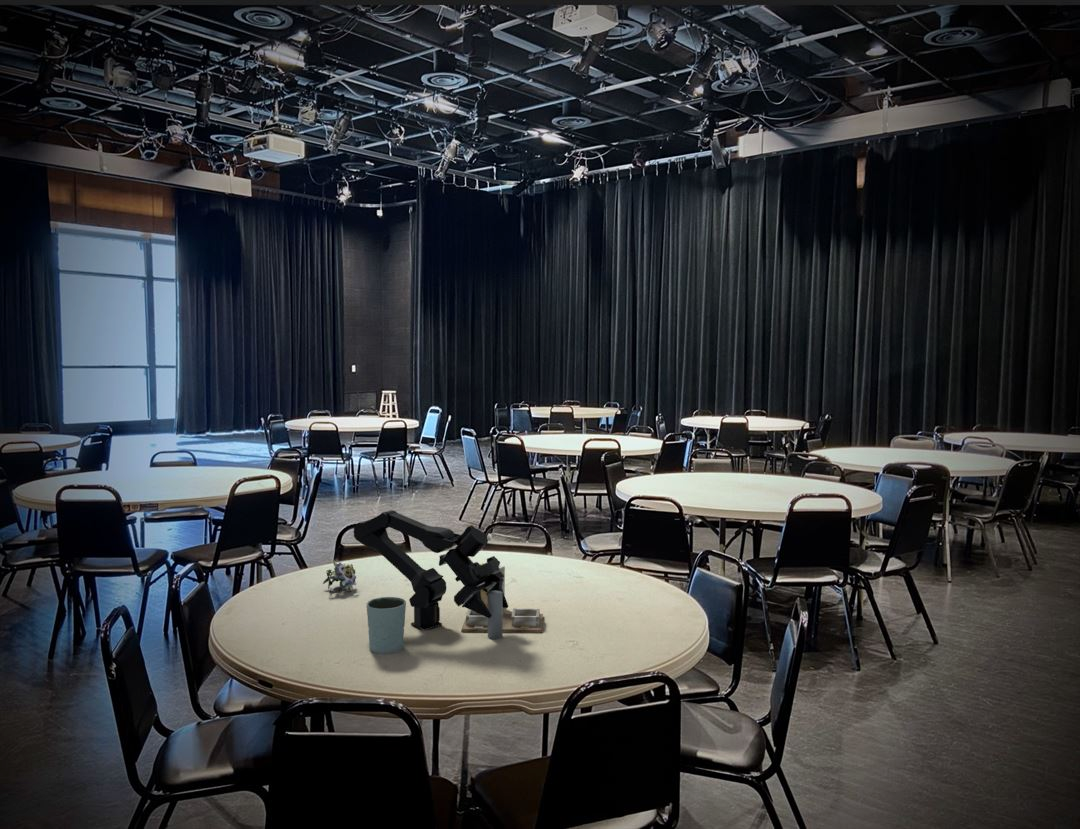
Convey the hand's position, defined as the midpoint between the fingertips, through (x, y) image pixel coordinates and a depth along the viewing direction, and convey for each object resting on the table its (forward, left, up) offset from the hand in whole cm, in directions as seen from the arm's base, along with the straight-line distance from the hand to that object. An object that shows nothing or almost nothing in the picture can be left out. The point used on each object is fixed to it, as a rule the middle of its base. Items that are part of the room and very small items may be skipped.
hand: (499, 612), depth 212 cm
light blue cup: (-26, +14, -7) cm, 31 cm away
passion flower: (-8, +71, -7) cm, 72 cm away
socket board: (+8, +8, -7) cm, 13 cm away
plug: (0, +1, -7) cm, 7 cm away
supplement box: (+15, +22, -7) cm, 27 cm away
